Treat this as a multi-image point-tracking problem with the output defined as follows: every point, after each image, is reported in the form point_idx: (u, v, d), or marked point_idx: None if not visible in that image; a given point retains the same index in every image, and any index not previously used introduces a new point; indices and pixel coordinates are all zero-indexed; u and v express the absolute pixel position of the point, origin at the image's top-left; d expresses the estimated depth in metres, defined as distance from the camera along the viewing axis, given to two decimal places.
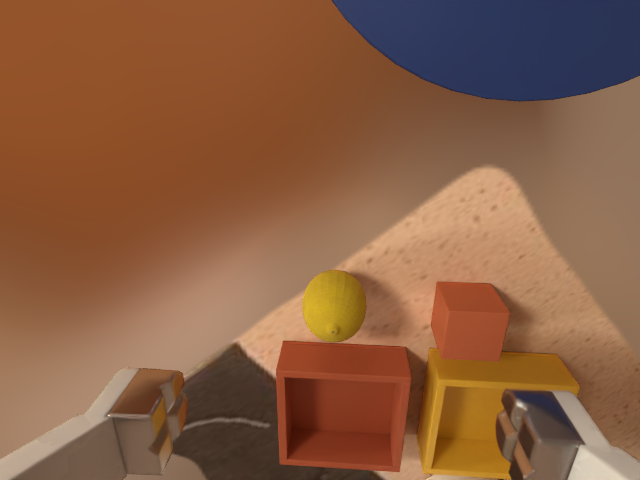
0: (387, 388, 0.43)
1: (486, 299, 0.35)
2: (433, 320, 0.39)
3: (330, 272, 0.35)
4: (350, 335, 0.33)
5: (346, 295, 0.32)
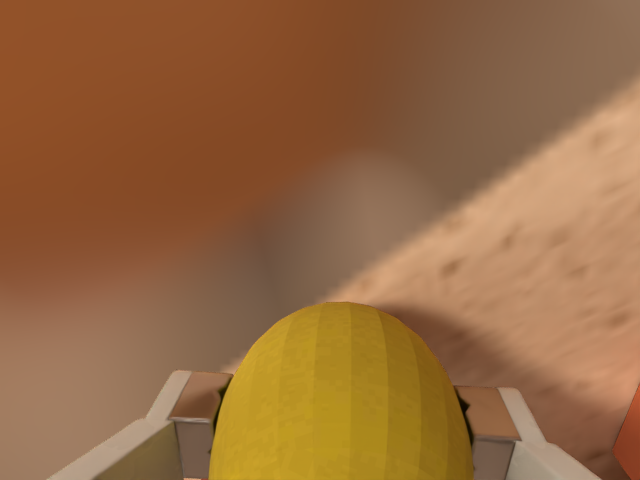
0: None
1: None
2: (635, 447, 0.13)
3: (324, 315, 0.09)
4: None
5: (403, 447, 0.06)
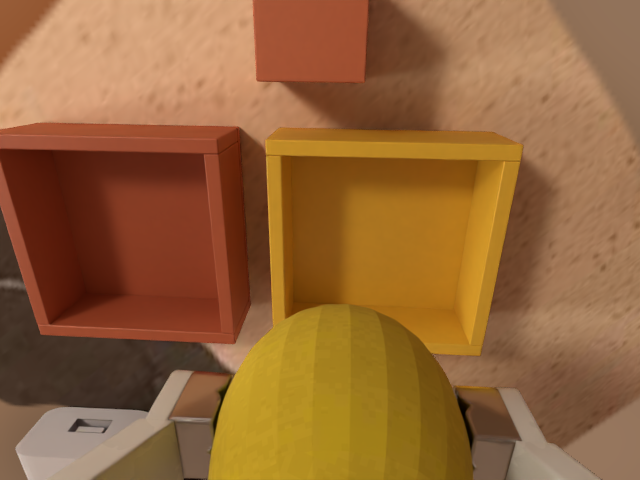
0: None
1: None
2: None
3: (324, 318, 0.09)
4: None
5: (402, 450, 0.06)
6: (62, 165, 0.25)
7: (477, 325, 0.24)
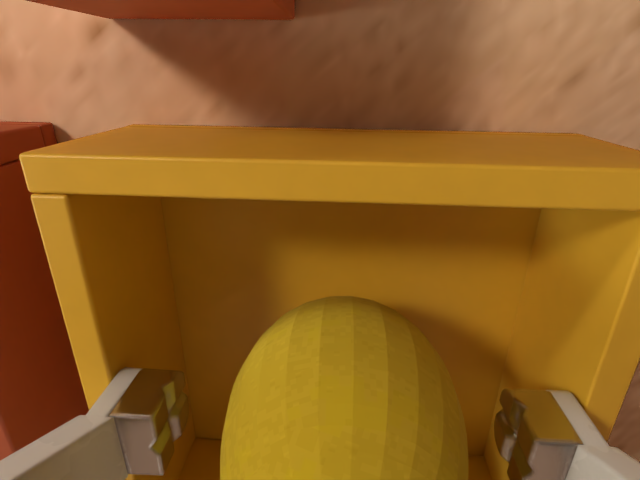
0: None
1: None
2: None
3: (328, 307, 0.10)
4: None
5: (401, 425, 0.07)
6: None
7: None
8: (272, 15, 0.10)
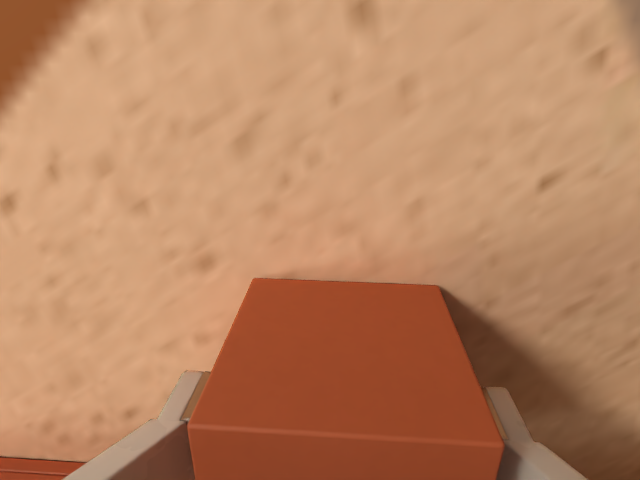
0: None
1: (403, 351, 0.08)
2: None
3: None
4: None
5: None
6: None
7: None
8: None
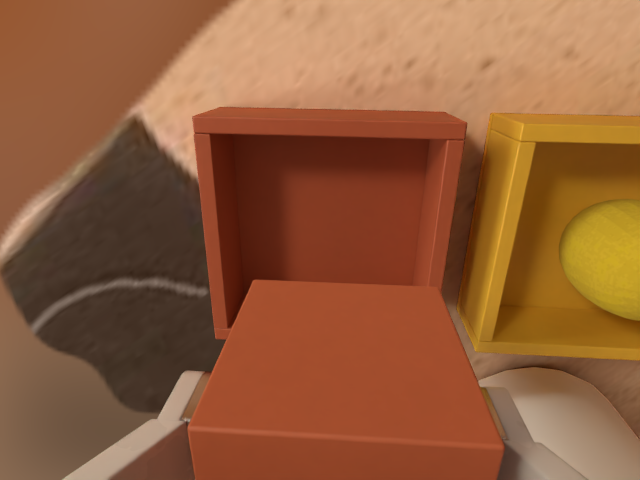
0: (409, 203, 0.24)
1: (403, 353, 0.08)
2: None
3: (624, 200, 0.20)
4: None
5: None
6: (242, 153, 0.23)
7: None
8: None
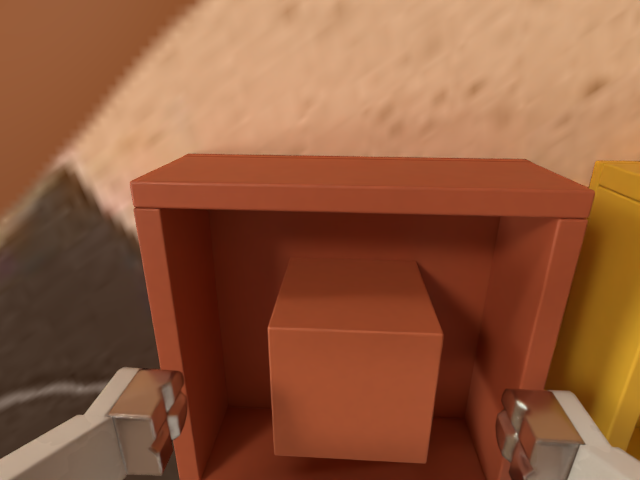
0: (468, 289, 0.16)
1: (390, 295, 0.13)
2: None
3: None
4: None
5: None
6: (221, 221, 0.16)
7: None
8: None
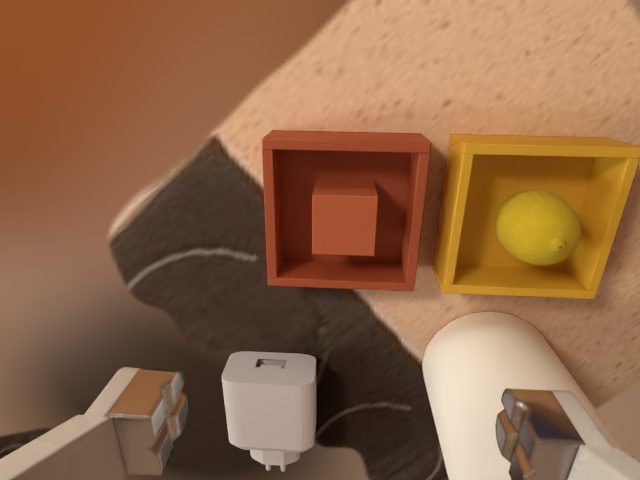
0: (398, 194, 0.35)
1: (360, 188, 0.32)
2: None
3: (532, 190, 0.31)
4: (569, 255, 0.29)
5: (568, 208, 0.29)
6: (286, 161, 0.35)
7: (595, 275, 0.33)
8: None
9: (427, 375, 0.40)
